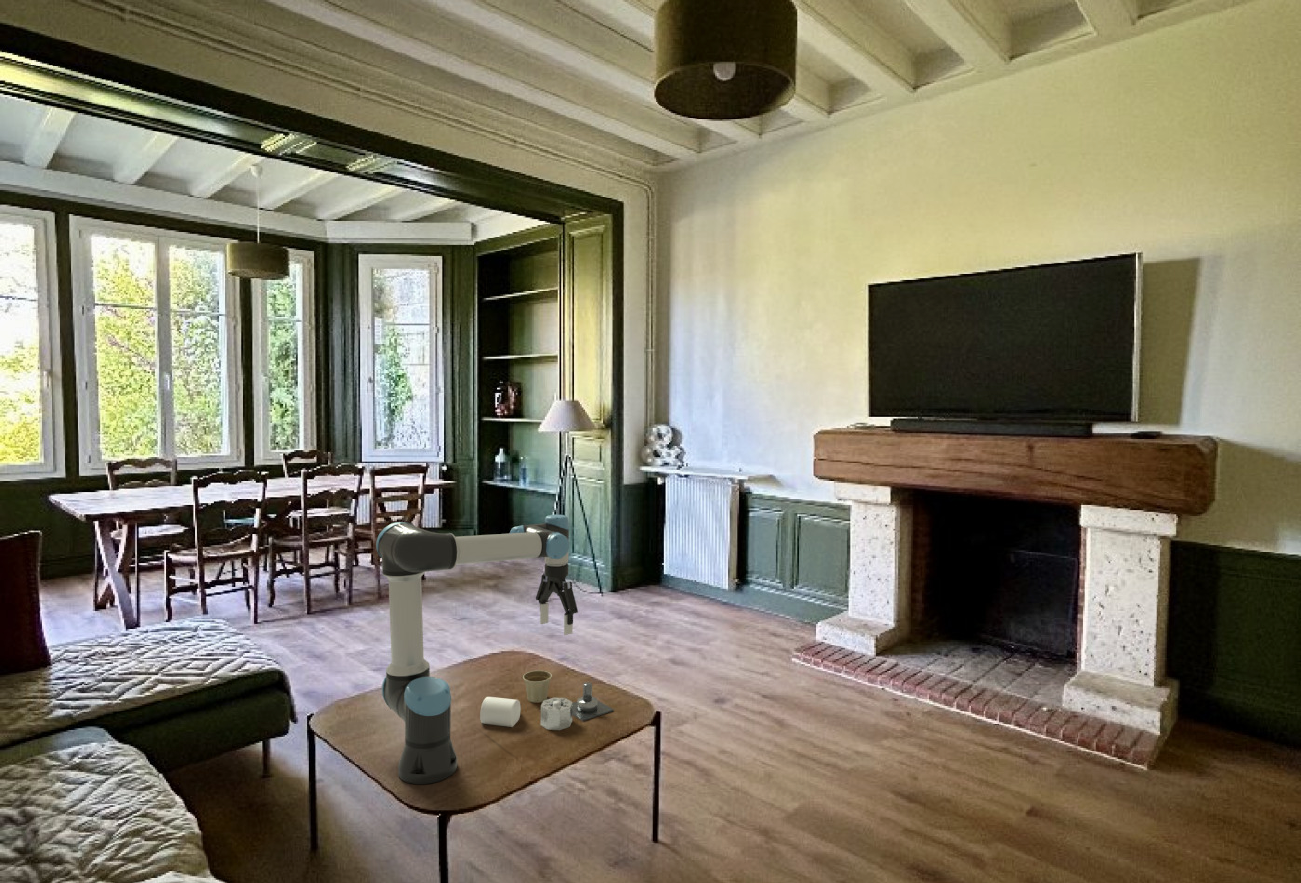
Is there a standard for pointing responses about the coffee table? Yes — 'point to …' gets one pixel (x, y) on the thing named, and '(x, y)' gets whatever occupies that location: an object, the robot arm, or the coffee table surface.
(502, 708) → the mug
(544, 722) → the collar
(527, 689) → the flower pot
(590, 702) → the hub
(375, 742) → the coffee table surface
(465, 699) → the coffee table surface
